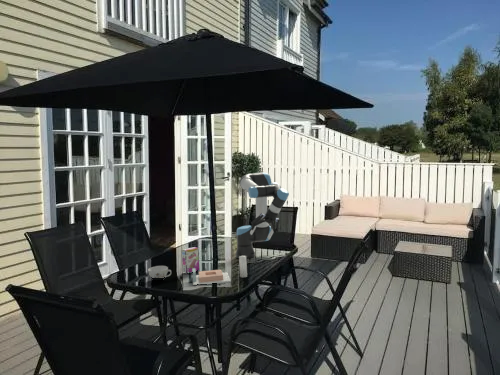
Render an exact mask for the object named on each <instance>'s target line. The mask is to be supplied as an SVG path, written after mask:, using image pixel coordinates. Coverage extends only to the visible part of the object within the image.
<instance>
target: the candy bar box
mask: <svg viewBox="0 0 500 375" xmlns="http://www.w3.org/2000/svg"><path fill="white" fill-rule="evenodd" d="M199 256H200V252H199V247H196V246H194V247H193V246H192V247H189V248H184V249H181V263H182V264H181V265H182V273H183V272H185V273H188V272H192V268H195V269H196V271H197V270H199V271H200V257H199ZM197 272H198V271H197Z"/></svg>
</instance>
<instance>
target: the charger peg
mask: <svg viewBox="0 0 500 375" xmlns="http://www.w3.org/2000/svg"><path fill="white" fill-rule="evenodd" d="M238 259H239V260H238V261H239V277H240V278H247V277H248V265H247V264H248V263H247V258H246V256H239V258H238Z"/></svg>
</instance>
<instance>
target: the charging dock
mask: <svg viewBox="0 0 500 375" xmlns="http://www.w3.org/2000/svg"><path fill="white" fill-rule="evenodd" d="M192 272H193V273H192V285H197V284H207V285H213V284H212V283H217V284H225V283H226V284H227V283H231V282H232V281H231V278H230V276H229V273H228V272H227V271H226V272H223V271H222V269H213V270H212V269H211V270H202V271H200V270H199V271H198V274H197V273H196V269H195V268H192ZM197 286H198V285H197Z"/></svg>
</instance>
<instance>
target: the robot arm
mask: <svg viewBox="0 0 500 375" xmlns="http://www.w3.org/2000/svg"><path fill="white" fill-rule="evenodd" d="M239 186H240V188H241V189H242V190H244V191H247V192H248V197H249V198H250V199H255V218H254V219H253V220H252V221H251V222H250V223H251V225H250V224H249V225H242V226H239V227H237V229H236V233H235V234H236V246H237V248H236V251H235V258H236V259H239V256H246V259H252V258H254V257H256V252H255V249H254V247H253V243H257V242H258V243H260V242H267V241H270V240H271V238H272V236H274V234H275V233H278V232H279V230H280V229H279V228H280V227H279V225H280V224H279V223H280V221H281V220H280V218H279V217H278V216H279V213H280V212H281V211H282V210H281V209H282V208H283V207H284V205H285V204H286V201H288V197H289V196H290V192H289V191H288V190H287V189H285V188H282V187H281V185H280V184H279V183H278V182H275V181H273V182H272V179H271V176H270V174H269V173H268V172H255V173H247V174H245V175H242V176H241V177H240V179H239ZM269 197H272V198H273V199H272V201H271V203H270V205H269V207H268V198H269ZM274 222H275V224H274ZM270 224H271V225H270Z"/></svg>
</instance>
